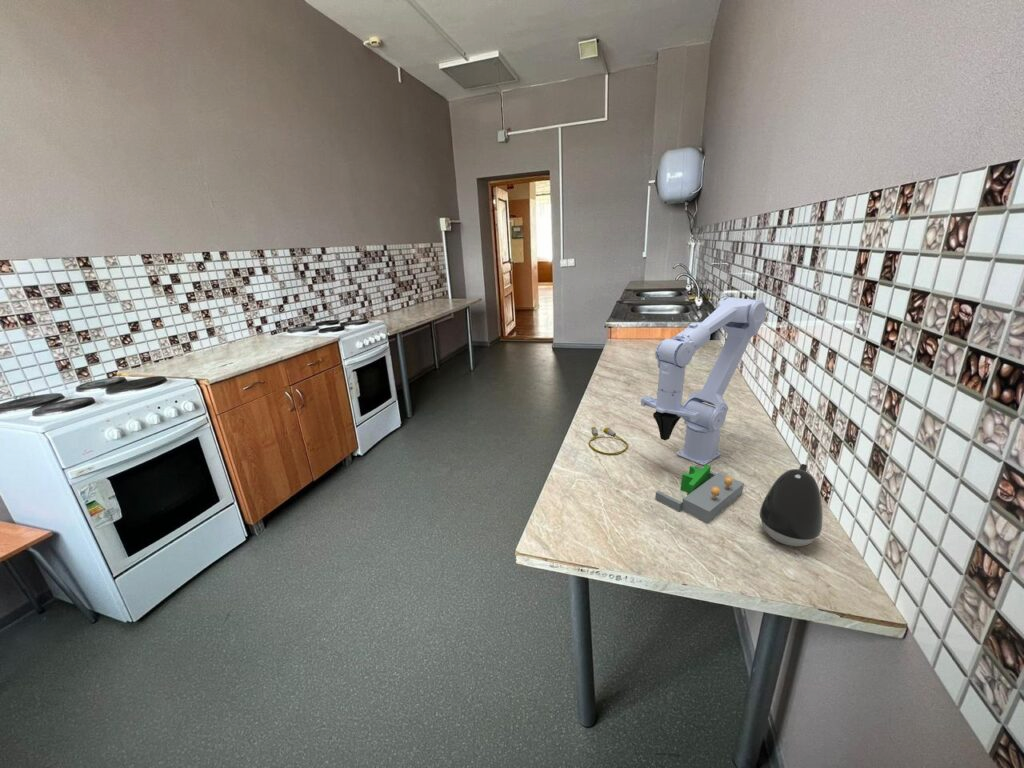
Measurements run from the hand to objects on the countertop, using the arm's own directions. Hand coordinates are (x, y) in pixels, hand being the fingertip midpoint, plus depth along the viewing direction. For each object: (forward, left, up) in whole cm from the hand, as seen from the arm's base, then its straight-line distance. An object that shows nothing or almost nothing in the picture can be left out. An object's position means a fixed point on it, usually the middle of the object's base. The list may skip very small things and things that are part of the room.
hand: (665, 438), depth 103 cm
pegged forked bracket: (+3, +12, -9) cm, 16 cm away
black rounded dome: (+3, +30, -10) cm, 32 cm away
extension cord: (-2, -19, -10) cm, 22 cm away
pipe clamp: (+1, +9, -10) cm, 14 cm away
